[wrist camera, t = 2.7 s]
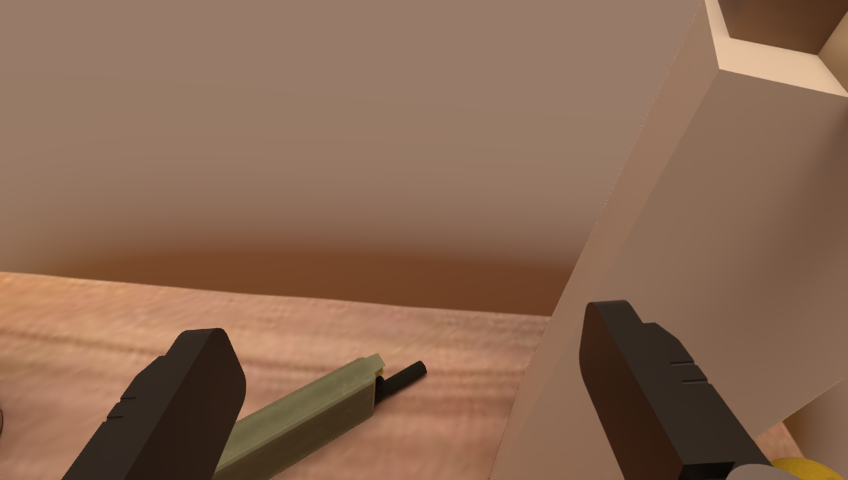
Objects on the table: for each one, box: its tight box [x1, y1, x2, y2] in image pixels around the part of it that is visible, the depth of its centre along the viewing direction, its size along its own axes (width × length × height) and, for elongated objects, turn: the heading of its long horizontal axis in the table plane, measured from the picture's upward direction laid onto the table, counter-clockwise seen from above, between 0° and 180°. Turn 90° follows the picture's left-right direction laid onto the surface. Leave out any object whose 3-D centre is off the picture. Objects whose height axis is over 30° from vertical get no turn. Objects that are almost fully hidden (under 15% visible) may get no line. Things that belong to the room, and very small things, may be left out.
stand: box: [489, 0, 848, 480], centre depth 24 cm, size 8×10×32 cm
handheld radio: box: [211, 353, 427, 480], centre depth 31 cm, size 7×3×25 cm
